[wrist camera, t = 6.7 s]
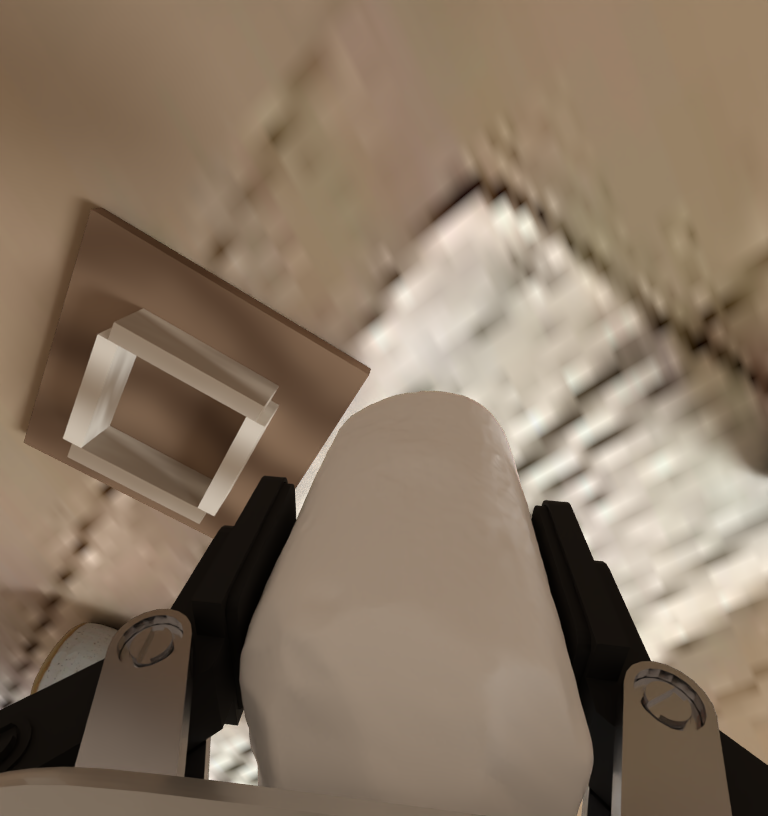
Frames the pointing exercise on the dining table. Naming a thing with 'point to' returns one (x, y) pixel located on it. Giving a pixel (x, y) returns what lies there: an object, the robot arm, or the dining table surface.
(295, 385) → the stand
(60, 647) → the ceramic mug
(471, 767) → the roll
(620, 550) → the dining table surface
